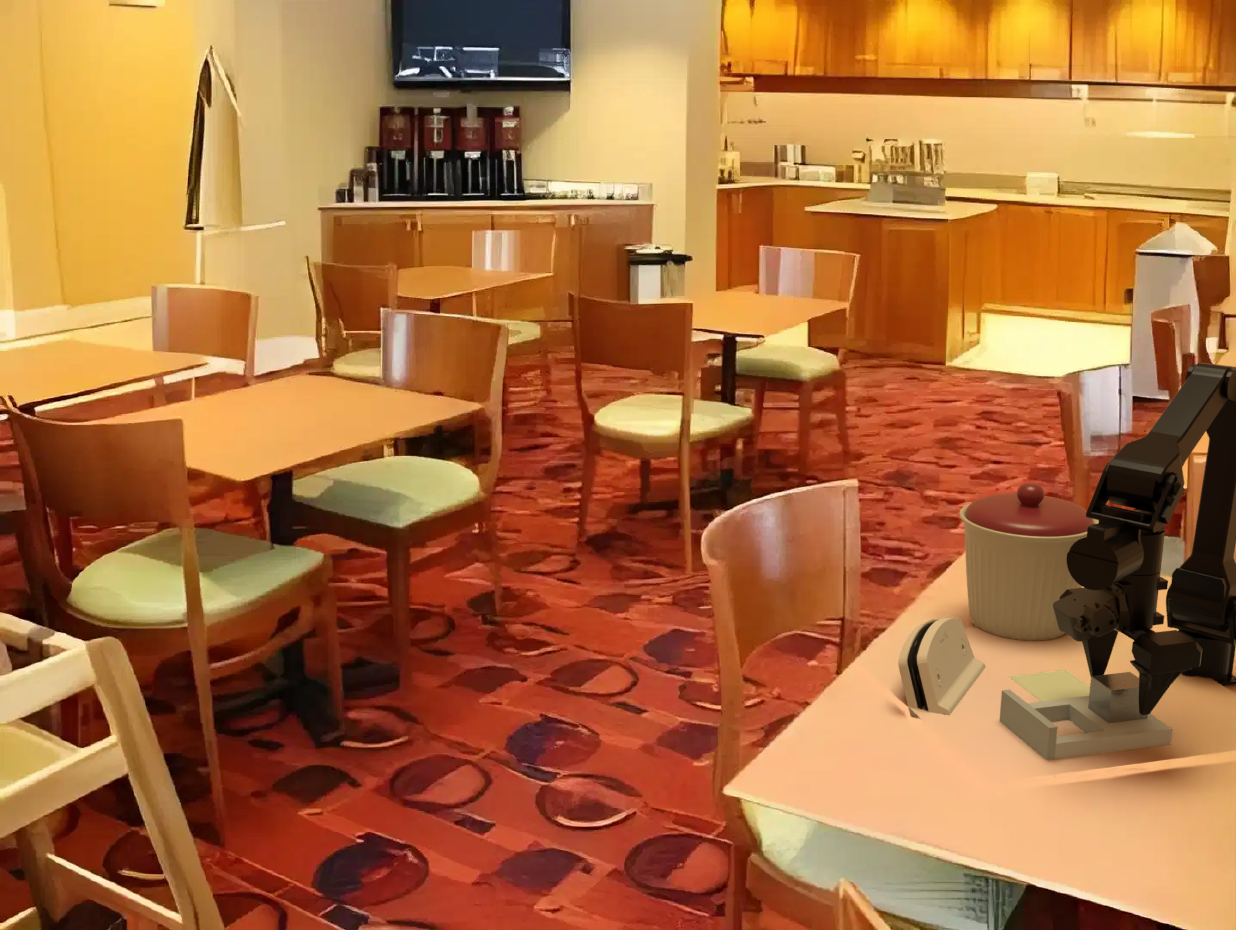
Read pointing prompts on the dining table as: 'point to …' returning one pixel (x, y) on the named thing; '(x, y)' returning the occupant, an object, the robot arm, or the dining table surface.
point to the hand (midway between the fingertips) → (1119, 697)
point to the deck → (1099, 737)
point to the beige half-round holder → (938, 666)
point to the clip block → (1115, 697)
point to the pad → (1052, 685)
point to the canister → (1020, 560)
